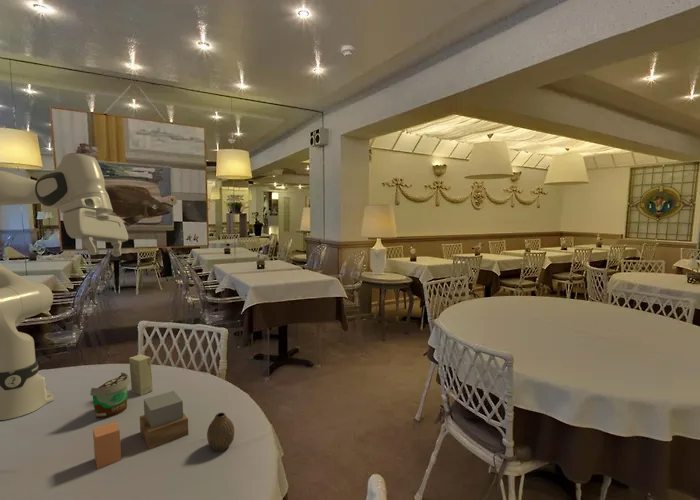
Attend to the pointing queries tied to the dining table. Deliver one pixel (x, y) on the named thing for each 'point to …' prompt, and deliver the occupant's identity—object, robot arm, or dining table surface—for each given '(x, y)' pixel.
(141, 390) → the skincare box
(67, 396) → the dining table surface
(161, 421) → the tower top block
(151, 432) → the tower base block
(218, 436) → the vase
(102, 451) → the terracotta block
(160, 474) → the dining table surface
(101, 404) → the food container
